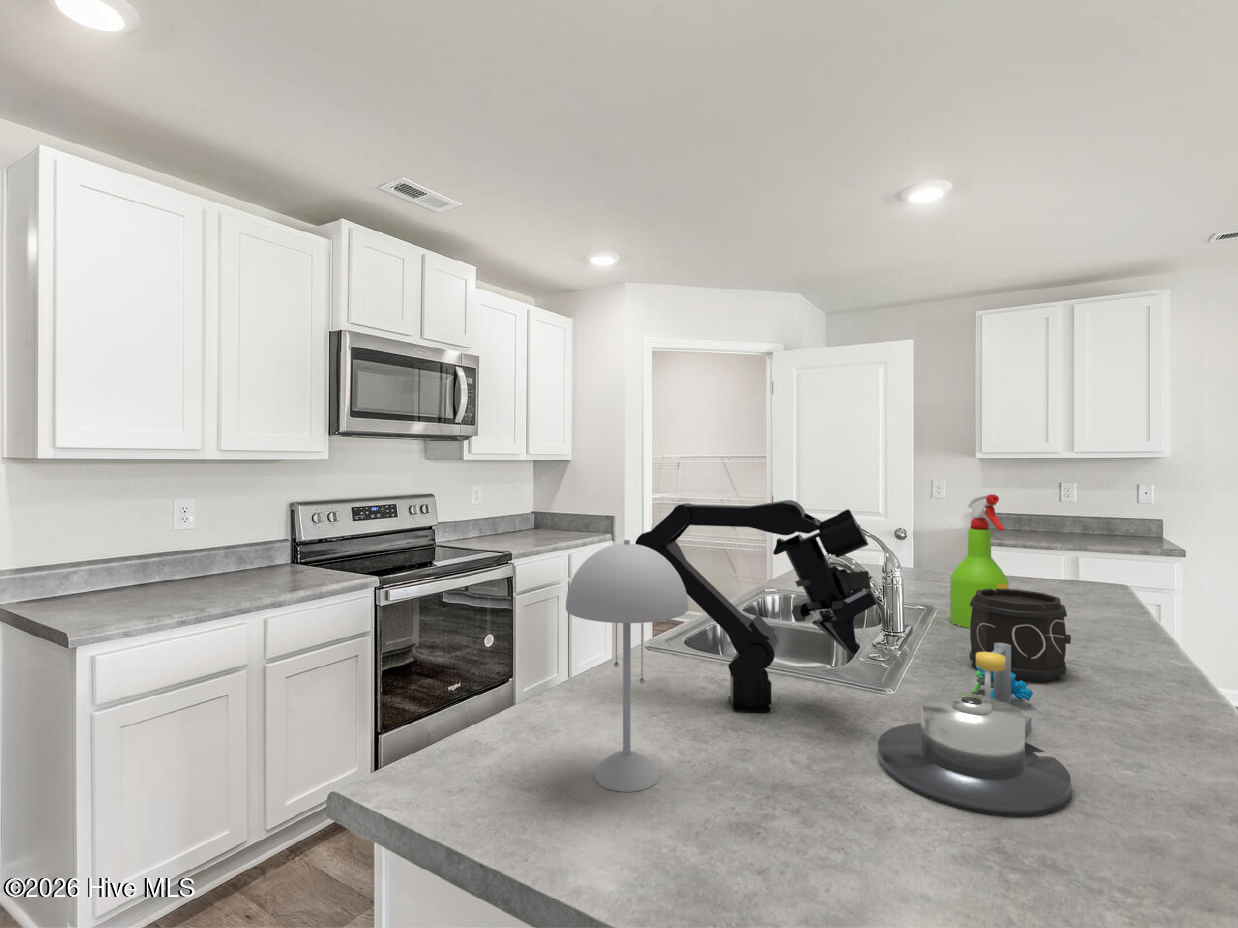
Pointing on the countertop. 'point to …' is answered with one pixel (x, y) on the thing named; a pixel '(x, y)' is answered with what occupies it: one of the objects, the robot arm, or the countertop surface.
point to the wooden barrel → (1021, 631)
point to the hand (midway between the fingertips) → (853, 653)
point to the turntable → (975, 779)
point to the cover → (973, 735)
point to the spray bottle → (976, 562)
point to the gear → (1016, 687)
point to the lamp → (627, 631)
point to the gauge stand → (999, 674)
